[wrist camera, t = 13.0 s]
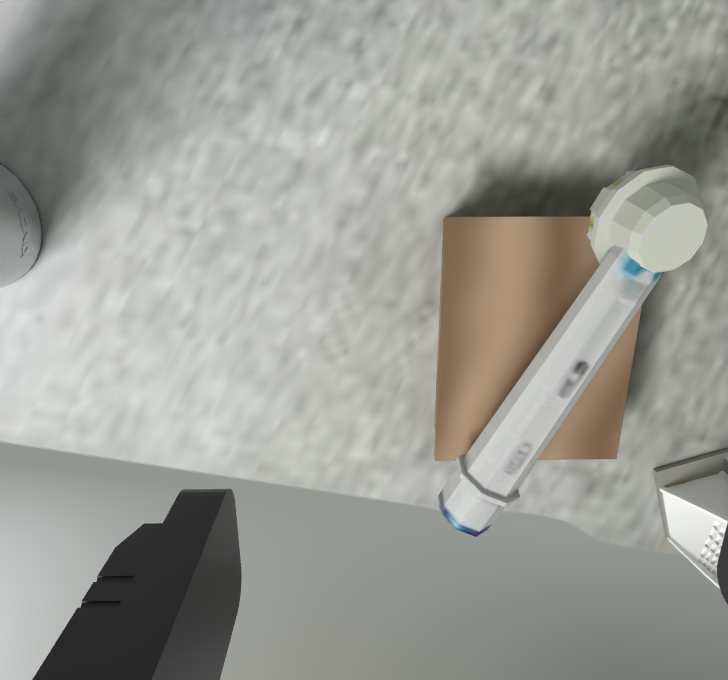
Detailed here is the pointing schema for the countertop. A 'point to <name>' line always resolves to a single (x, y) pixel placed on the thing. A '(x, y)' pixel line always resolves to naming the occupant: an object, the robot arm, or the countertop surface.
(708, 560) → the skyscraper
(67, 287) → the countertop surface
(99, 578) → the robot arm
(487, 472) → the white handheld device
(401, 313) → the countertop surface
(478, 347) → the stand
